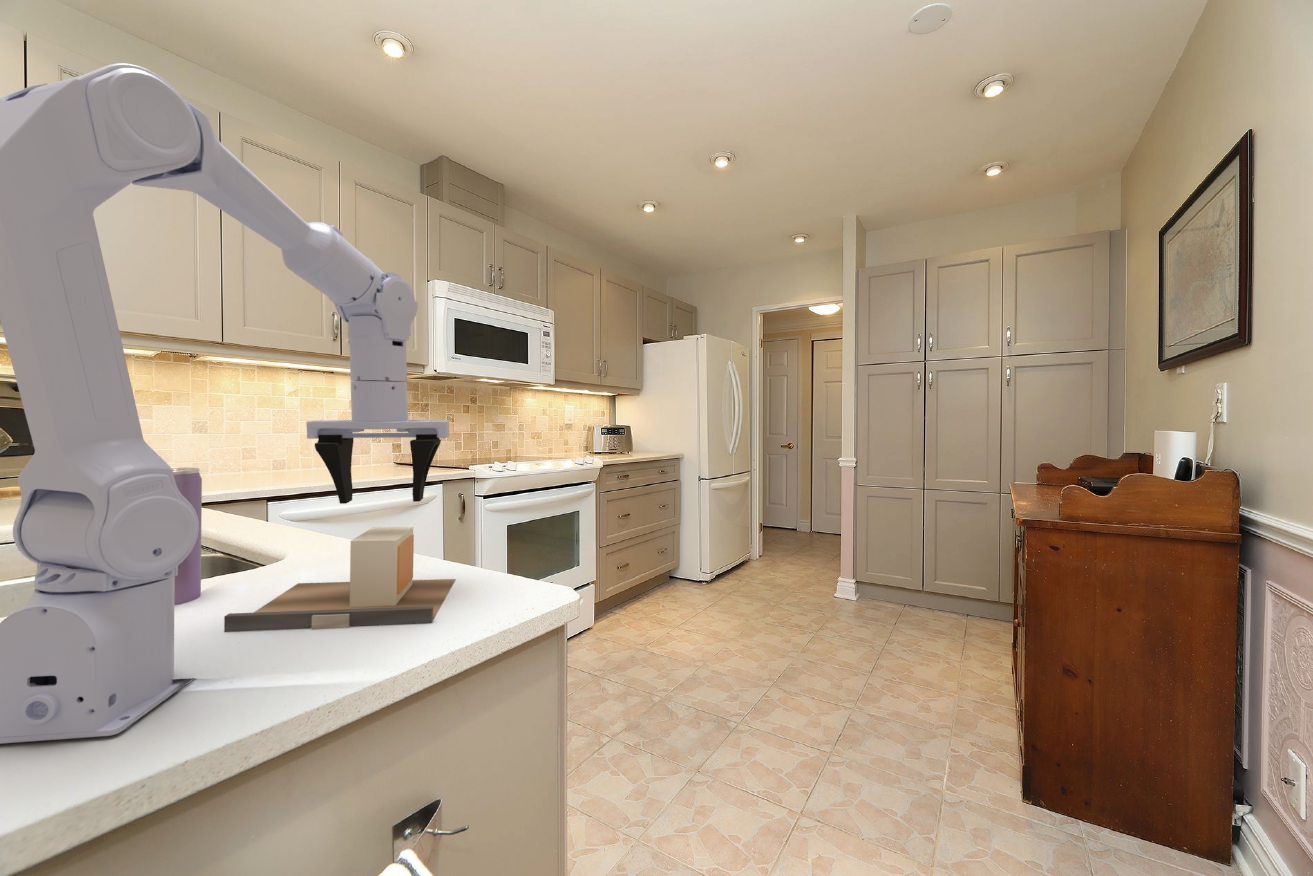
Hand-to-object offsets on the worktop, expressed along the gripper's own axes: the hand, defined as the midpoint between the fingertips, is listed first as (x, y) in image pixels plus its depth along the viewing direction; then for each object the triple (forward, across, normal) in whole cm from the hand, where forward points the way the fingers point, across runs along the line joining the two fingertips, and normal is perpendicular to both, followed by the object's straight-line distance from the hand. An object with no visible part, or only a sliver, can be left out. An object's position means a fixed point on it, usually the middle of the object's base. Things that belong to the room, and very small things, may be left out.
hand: (382, 501), depth 64 cm
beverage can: (+11, +22, 0) cm, 25 cm away
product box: (+10, 0, +2) cm, 11 cm away
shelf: (+11, +2, +4) cm, 12 cm away
